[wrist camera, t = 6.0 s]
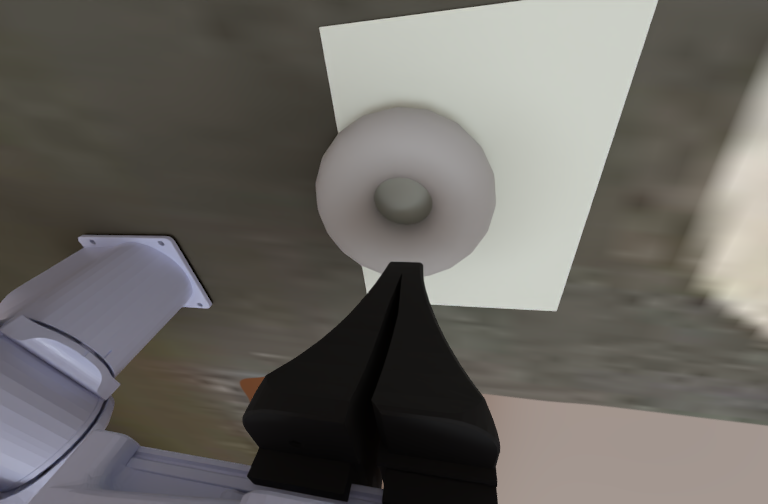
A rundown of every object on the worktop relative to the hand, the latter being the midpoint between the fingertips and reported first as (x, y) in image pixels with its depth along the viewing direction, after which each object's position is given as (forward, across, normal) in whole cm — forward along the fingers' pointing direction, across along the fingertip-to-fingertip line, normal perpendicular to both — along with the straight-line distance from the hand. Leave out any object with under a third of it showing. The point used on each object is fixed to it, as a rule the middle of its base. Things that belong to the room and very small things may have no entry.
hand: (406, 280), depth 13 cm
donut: (+6, +6, -1) cm, 9 cm away
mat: (+8, -2, 0) cm, 8 cm away
